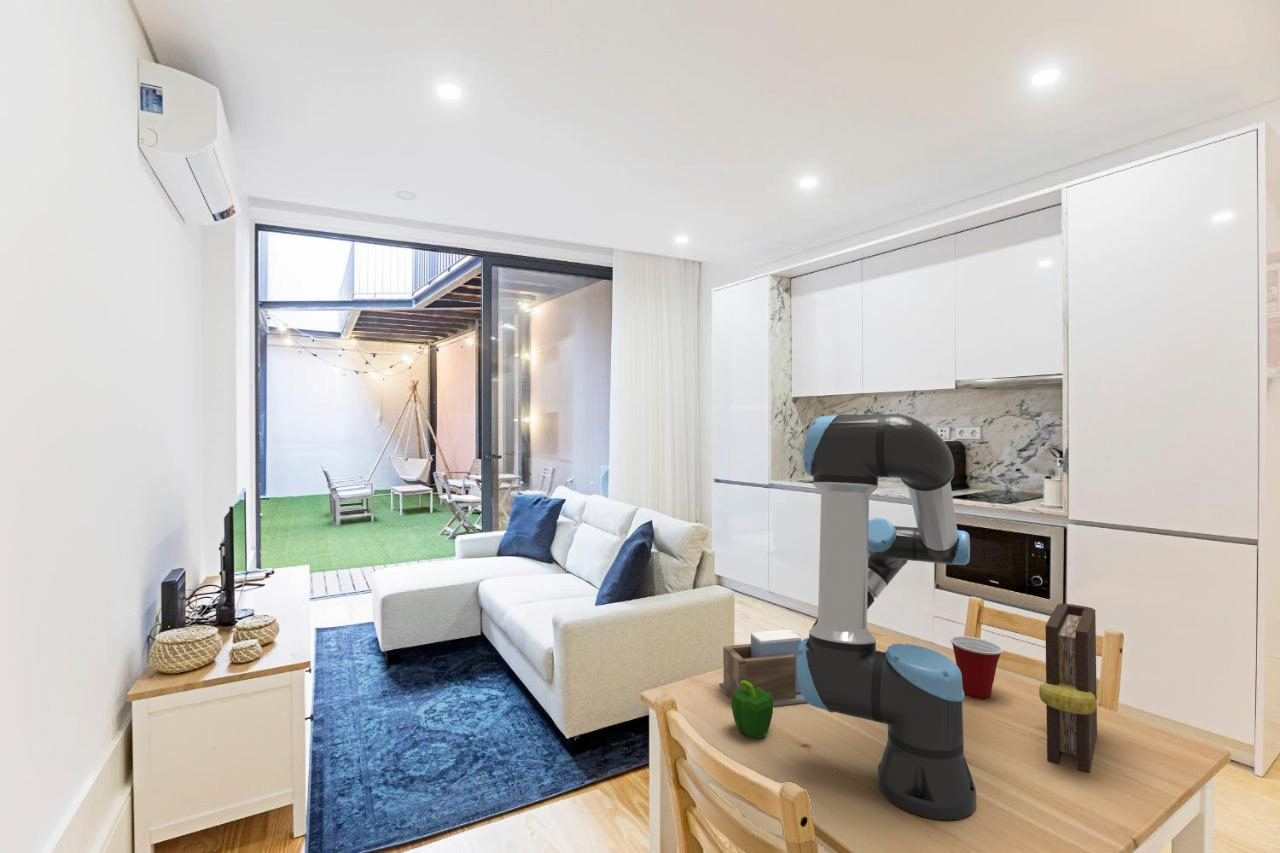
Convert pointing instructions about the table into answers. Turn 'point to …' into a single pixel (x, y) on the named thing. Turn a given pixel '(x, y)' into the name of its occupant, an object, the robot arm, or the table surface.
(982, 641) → the plastic cup
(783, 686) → the housing
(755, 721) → the bell pepper
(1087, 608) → the book
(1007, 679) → the table surface
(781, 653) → the white box
